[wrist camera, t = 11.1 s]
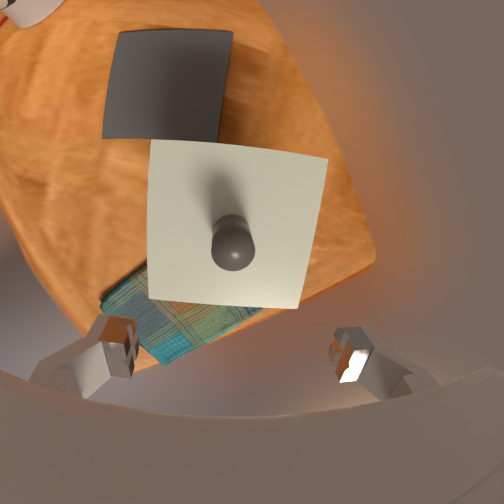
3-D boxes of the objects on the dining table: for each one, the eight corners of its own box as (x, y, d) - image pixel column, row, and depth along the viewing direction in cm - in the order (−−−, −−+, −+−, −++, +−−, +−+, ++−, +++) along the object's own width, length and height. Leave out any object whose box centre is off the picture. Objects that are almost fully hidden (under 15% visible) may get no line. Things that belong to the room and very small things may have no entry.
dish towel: (99, 299, 42) (94, 307, 39) (205, 217, 39) (204, 222, 36) (165, 361, 48) (164, 370, 46) (270, 300, 45) (273, 309, 43)
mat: (120, 34, 26) (119, 33, 25) (233, 33, 28) (233, 32, 28) (103, 138, 32) (102, 138, 31) (216, 142, 34) (216, 142, 34)
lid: (153, 139, 20) (135, 139, 15) (325, 158, 22) (349, 164, 17) (150, 294, 25) (138, 324, 21) (295, 304, 27) (308, 334, 23)
